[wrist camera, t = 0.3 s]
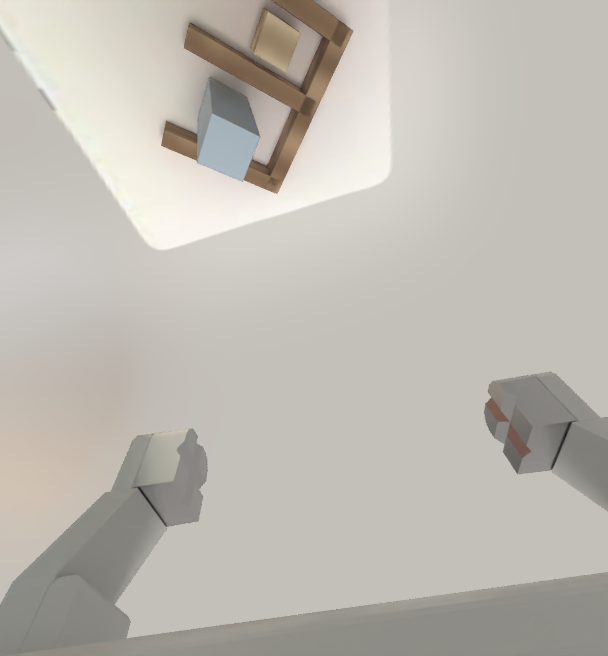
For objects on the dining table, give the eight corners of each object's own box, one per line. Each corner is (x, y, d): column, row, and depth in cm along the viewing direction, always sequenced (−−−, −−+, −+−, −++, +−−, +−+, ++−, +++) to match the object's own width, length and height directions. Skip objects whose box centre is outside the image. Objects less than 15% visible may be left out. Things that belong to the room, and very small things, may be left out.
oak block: (263, 7, 40) (268, 11, 37) (294, 28, 42) (300, 33, 39) (250, 47, 42) (253, 53, 40) (280, 65, 44) (285, 72, 41)
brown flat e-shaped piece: (211, -72, 35) (212, -74, 33) (345, 26, 43) (353, 30, 40) (163, 136, 47) (161, 145, 45) (273, 183, 55) (277, 193, 52)
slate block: (209, 77, 43) (212, 113, 33) (247, 97, 46) (260, 136, 36) (197, 118, 46) (197, 162, 36) (233, 135, 49) (242, 181, 39)
